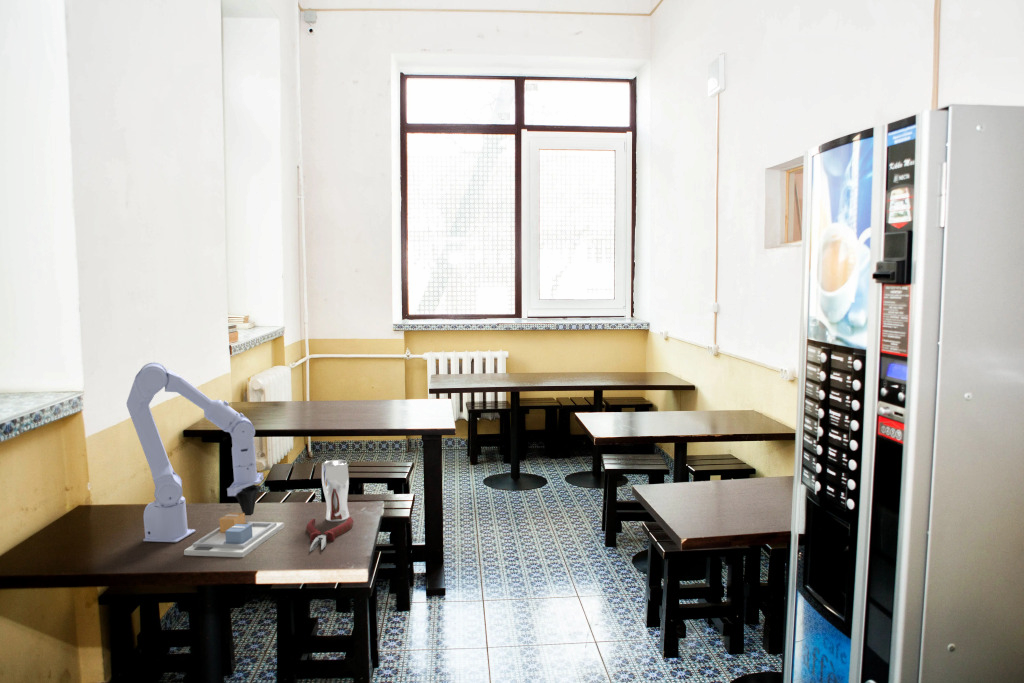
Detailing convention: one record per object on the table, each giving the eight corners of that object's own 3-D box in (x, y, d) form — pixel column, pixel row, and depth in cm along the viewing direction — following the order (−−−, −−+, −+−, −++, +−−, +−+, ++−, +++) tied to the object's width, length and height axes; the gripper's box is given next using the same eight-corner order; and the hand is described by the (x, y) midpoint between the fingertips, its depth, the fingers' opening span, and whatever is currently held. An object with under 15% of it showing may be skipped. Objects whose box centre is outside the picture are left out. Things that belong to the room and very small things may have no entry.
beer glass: (347, 521, 193) (344, 465, 191) (321, 522, 193) (317, 466, 191) (353, 513, 200) (350, 458, 198) (328, 513, 200) (324, 459, 198)
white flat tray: (184, 555, 173) (183, 546, 173) (231, 525, 193) (230, 518, 193) (242, 557, 171) (242, 549, 171) (284, 527, 190) (283, 519, 190)
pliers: (291, 556, 172) (290, 546, 171) (310, 527, 192) (309, 517, 191) (340, 554, 172) (339, 543, 172) (354, 524, 192) (354, 515, 192)
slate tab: (226, 545, 175) (225, 530, 175) (237, 537, 180) (236, 523, 180) (241, 545, 175) (240, 530, 174) (252, 538, 179) (251, 523, 179)
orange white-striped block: (220, 532, 184) (219, 518, 184) (231, 525, 189) (230, 511, 189) (234, 533, 184) (233, 518, 183) (245, 526, 188) (244, 512, 188)
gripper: (243, 471, 184) (247, 524, 186) (272, 456, 199) (276, 505, 200) (218, 471, 186) (222, 523, 187) (248, 456, 200) (252, 505, 201)
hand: (248, 514), depth 194 cm, fingers closed
